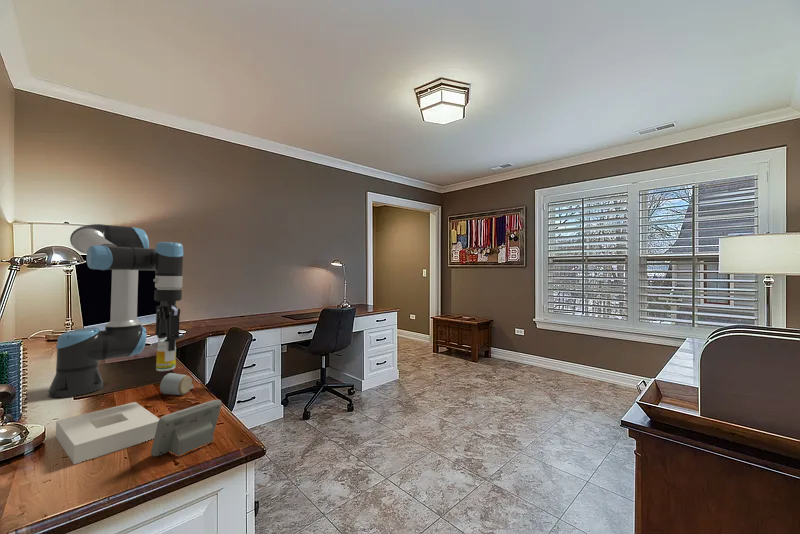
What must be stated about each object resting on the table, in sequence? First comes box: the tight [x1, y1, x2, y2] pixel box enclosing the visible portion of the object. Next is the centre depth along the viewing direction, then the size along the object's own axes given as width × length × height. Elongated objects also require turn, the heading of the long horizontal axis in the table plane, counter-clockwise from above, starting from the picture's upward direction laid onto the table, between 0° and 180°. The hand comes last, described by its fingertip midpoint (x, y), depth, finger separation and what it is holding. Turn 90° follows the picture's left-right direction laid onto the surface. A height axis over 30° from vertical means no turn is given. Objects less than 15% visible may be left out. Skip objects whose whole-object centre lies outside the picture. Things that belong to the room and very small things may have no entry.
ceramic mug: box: [159, 372, 194, 396], centre depth 131 cm, size 11×8×8 cm
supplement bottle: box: [155, 339, 177, 372], centre depth 113 cm, size 5×5×10 cm
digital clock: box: [150, 399, 222, 457], centre depth 91 cm, size 16×9×11 cm, turn 138°
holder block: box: [55, 401, 160, 465], centre depth 95 cm, size 22×18×4 cm
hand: (166, 358), depth 113 cm, fingers closed on supplement bottle, 5 cm apart
